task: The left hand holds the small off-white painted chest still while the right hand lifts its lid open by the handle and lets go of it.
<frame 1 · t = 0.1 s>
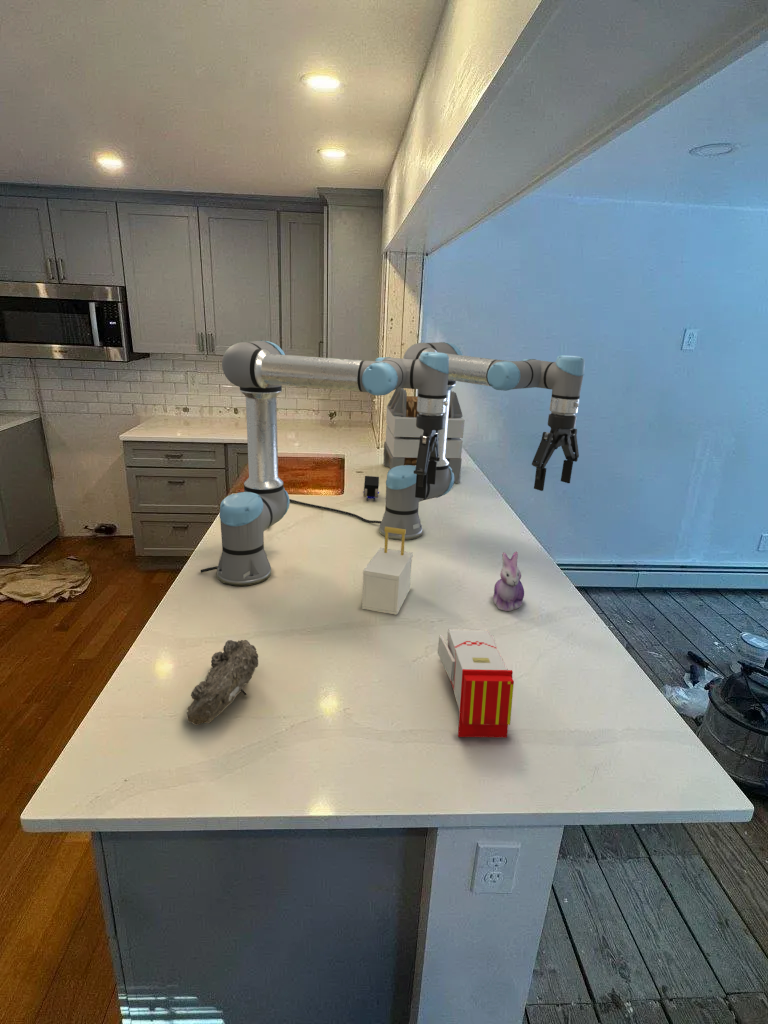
left hand: (425, 490, 156), 28 cm above the counter, tool pointing down, fingers open, 13 cm apart
right hand: (552, 485, 166), 28 cm above the counter, tool pointing down, fingers open, 13 cm apart
figurine: (508, 604, 155), on the counter
chest: (386, 598, 155), on the counter
fossil: (228, 693, 115), on the counter
toy: (469, 691, 119), on the counter
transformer: (419, 473, 275), on the counter
figurine character: (371, 497, 237), on the counter
feather: (276, 516, 211), on the counter
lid: (389, 550, 150), point 14 cm above the counter, hinge at 0.0°
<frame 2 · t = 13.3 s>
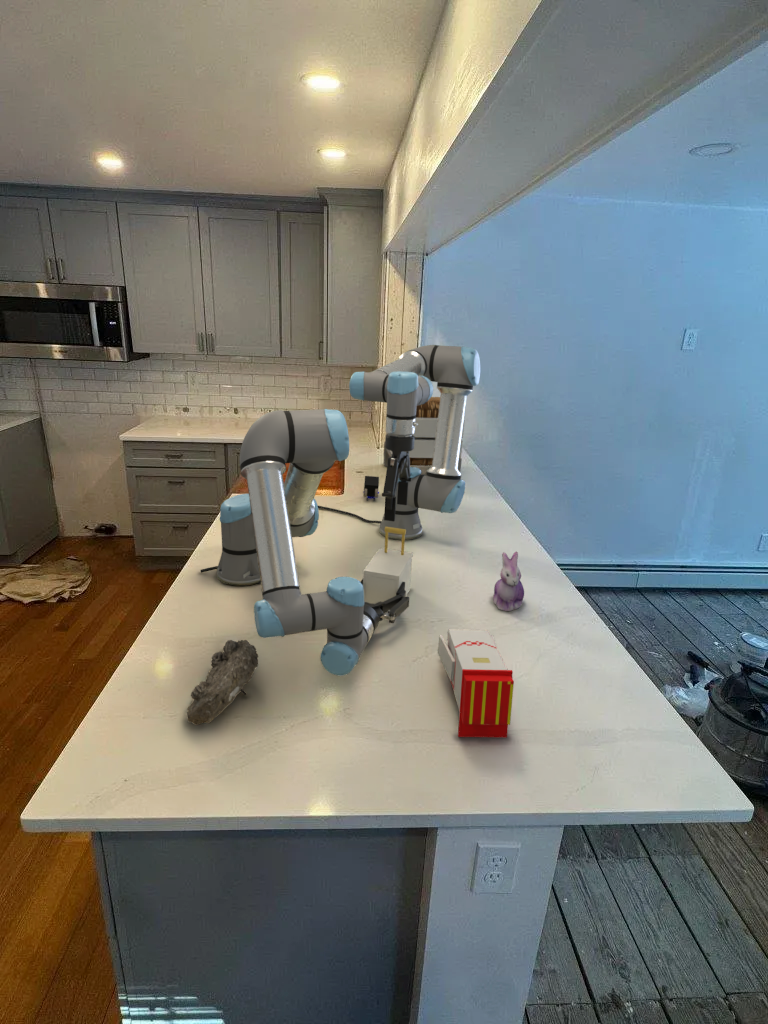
left hand: (384, 583, 150), 6 cm above the counter, tool horizontal, fingers closed on chest, 9 cm apart
right hand: (396, 512, 152), 23 cm above the counter, tool pointing down, fingers open, 13 cm apart
chest: (386, 598, 155), on the counter, touching left hand
everything else where it was.
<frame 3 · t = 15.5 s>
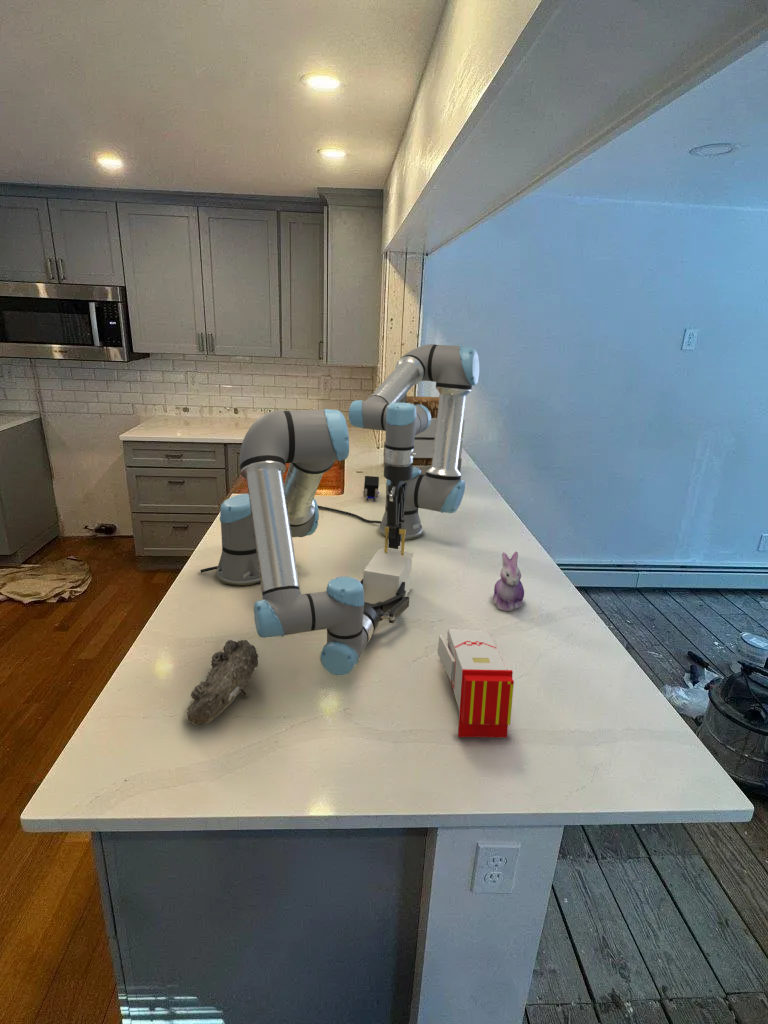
left hand: (384, 583, 150), 6 cm above the counter, tool horizontal, fingers closed on chest, 9 cm apart
right hand: (394, 546, 156), 13 cm above the counter, tool pointing down, fingers closed on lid, 1 cm apart
chest: (386, 599, 155), on the counter, touching left hand
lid: (389, 550, 150), point 14 cm above the counter, hinge at -0.1°, touching right hand
everything else where it was.
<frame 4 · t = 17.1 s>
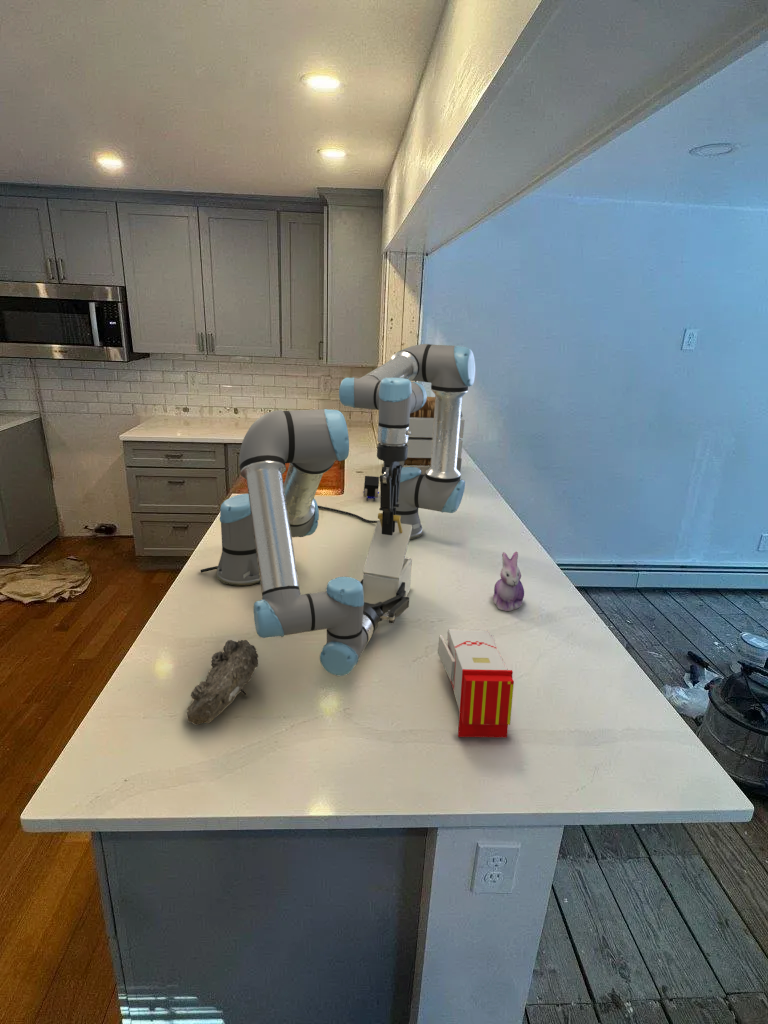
left hand: (384, 583, 150), 6 cm above the counter, tool horizontal, fingers closed on chest, 10 cm apart
right hand: (388, 532, 146), 20 cm above the counter, tool pointing down, fingers closed on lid, 1 cm apart
chest: (386, 599, 155), on the counter, touching left hand
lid: (386, 542, 145), point 18 cm above the counter, hinge at 38.6°, touching right hand
everything else where it was.
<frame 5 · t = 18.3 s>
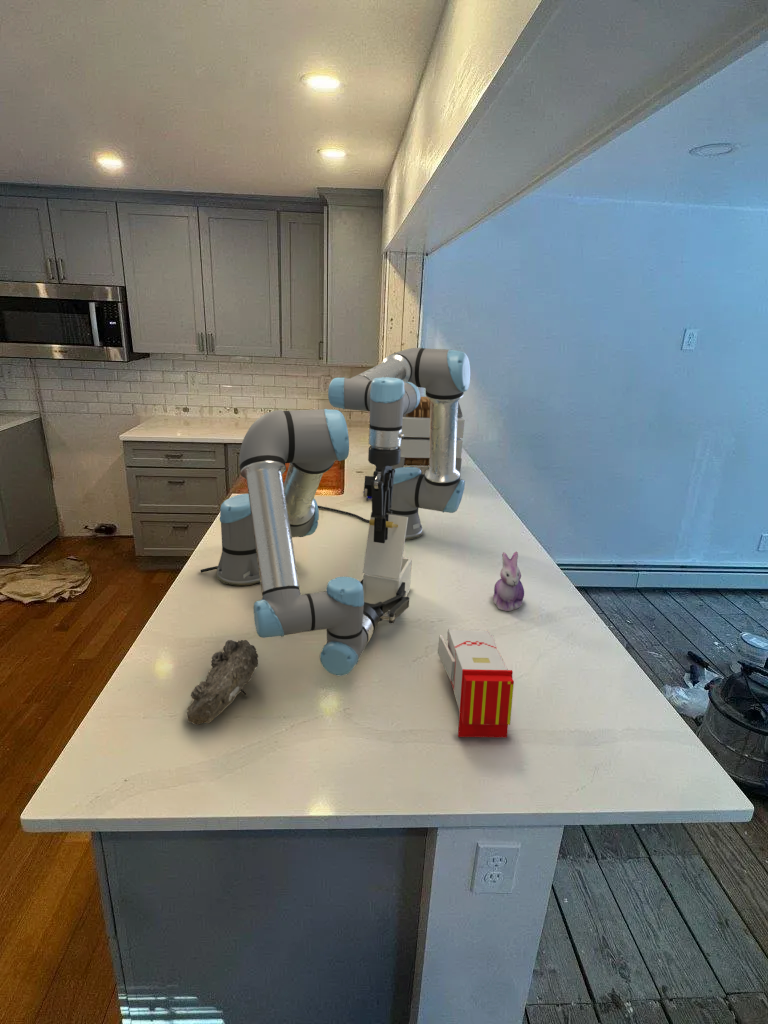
left hand: (384, 583, 150), 6 cm above the counter, tool horizontal, fingers closed on chest, 10 cm apart
right hand: (380, 540, 139), 21 cm above the counter, tool pointing down, fingers closed
chest: (386, 599, 155), on the counter, touching left hand
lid: (381, 545, 141), point 19 cm above the counter, hinge at 67.7°
everything else where it was.
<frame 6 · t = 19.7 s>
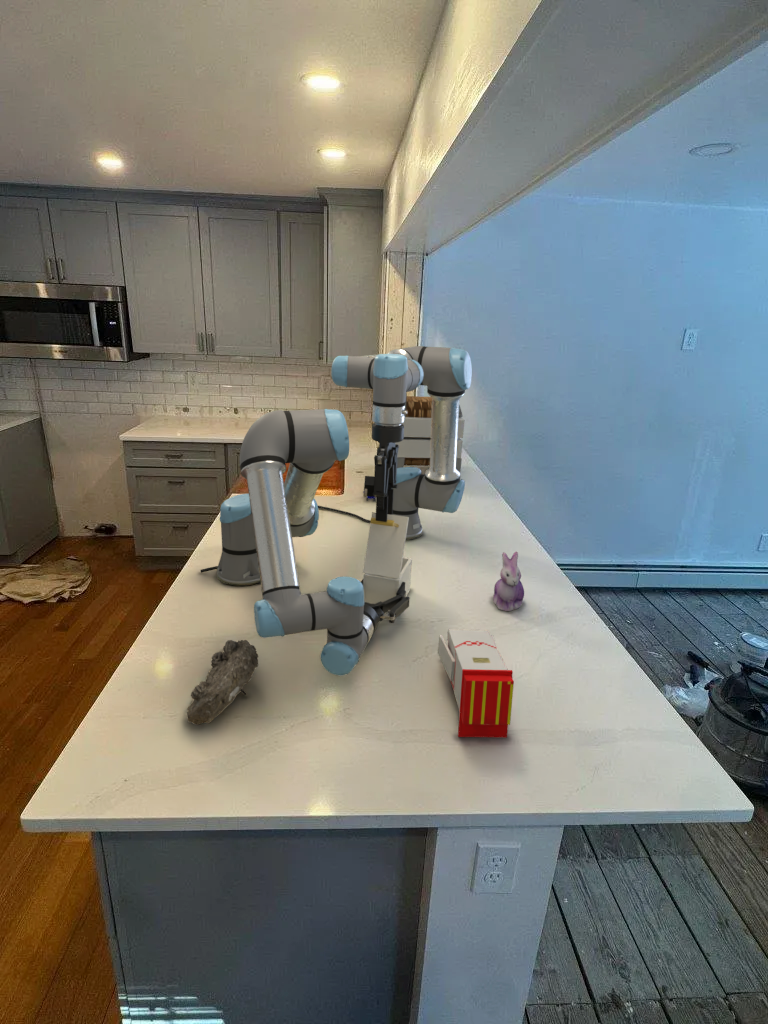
left hand: (384, 583, 150), 6 cm above the counter, tool horizontal, fingers closed on chest, 9 cm apart
right hand: (384, 516, 140), 26 cm above the counter, tool pointing down, fingers open, 4 cm apart
chest: (386, 598, 155), on the counter, touching left hand
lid: (382, 544, 142), point 19 cm above the counter, hinge at 64.6°
everything else where it was.
when the left hand's fingers open (6 cm above the counter, at t = 22.3 s): chest stays where it is, on the counter.
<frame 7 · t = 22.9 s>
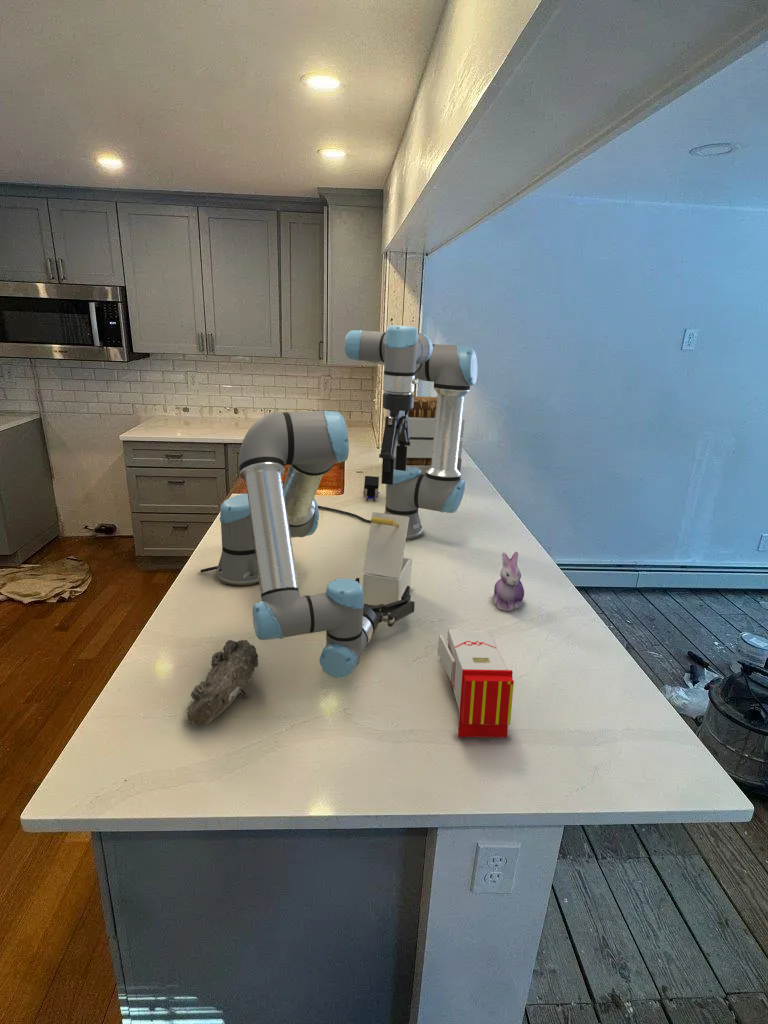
left hand: (382, 586, 148), 6 cm above the counter, tool horizontal, fingers open, 13 cm apart
right hand: (394, 476, 145), 34 cm above the counter, tool pointing down, fingers open, 13 cm apart
chest: (387, 598, 155), on the counter
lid: (382, 543, 142), point 19 cm above the counter, hinge at 64.0°
everything else where it was.
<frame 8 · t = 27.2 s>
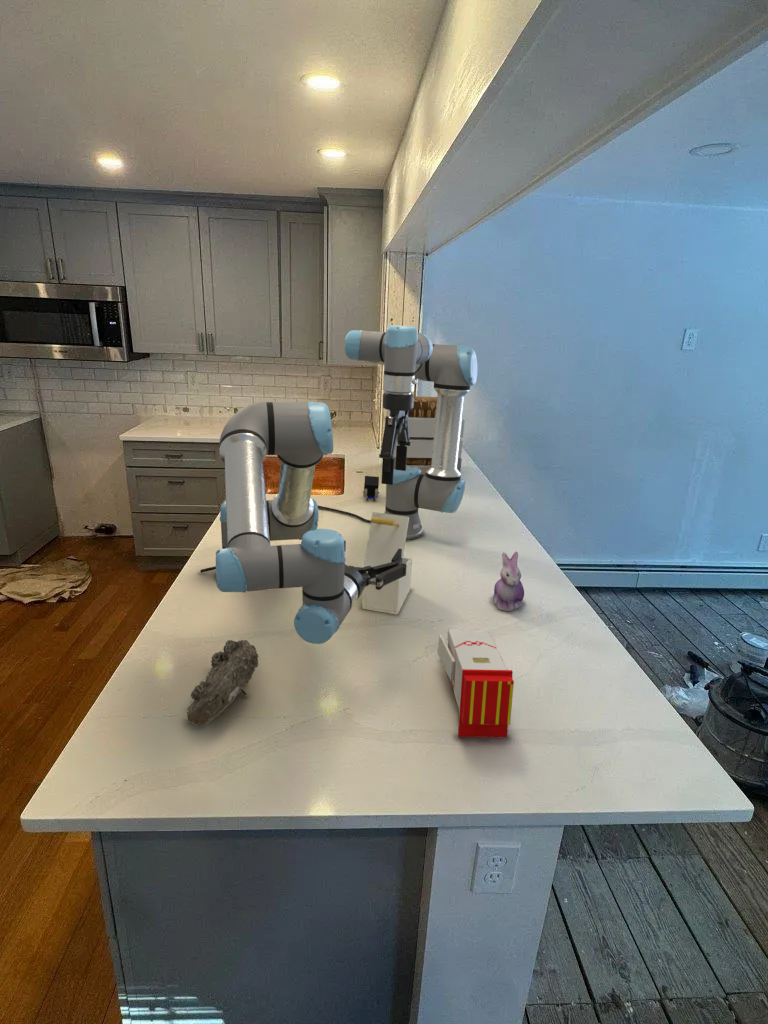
left hand: (371, 549, 132), 22 cm above the counter, tool horizontal, fingers open, 13 cm apart
right hand: (394, 476, 145), 34 cm above the counter, tool pointing down, fingers open, 13 cm apart
nothing on the counter moved.
at the end: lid at +64° (first picture: +0°); the left hand is holding nothing; the right hand is holding nothing; chest tilted 0°; chest never tilted more than 1° during the clip; chest moved 0.1 cm from its start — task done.
